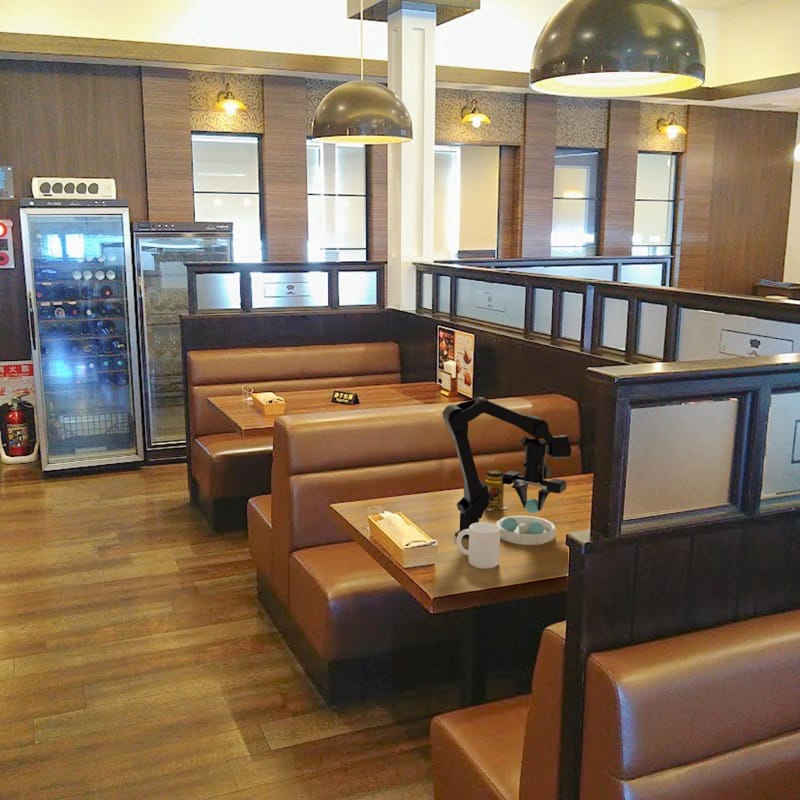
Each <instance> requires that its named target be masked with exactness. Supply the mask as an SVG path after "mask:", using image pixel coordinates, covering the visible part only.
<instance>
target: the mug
mask: <svg viewBox="0 0 800 800" xmlns="http://www.w3.org/2000/svg"><path fill="white" fill-rule="evenodd" d="M464 535H469V538H468V549H466V548H465V547H464V546H463V544H462V538H463V536H464ZM456 537H457V538H456V546H457V549H458V550H459V552H461V554H463V555H465V556H468V563H469V564H470V566H472V567H473V568H477V569H482V570H483V569H484V570H487V569H488V570H490V569H494V568H496V567H498V565H499V563H500V552H501V551H500V550H501V549H500V547H501V539H500V527H499V526H498V525H496V523H492V522H485V521H484V522H483V521H482V522H481V521H479V522H478V523H473V524H471V525H470V526H469V529H465V530H462V531H461V532H460V533H459V534H458V535H456Z"/></svg>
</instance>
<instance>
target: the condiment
mask: <svg viewBox="0 0 800 800" xmlns="http://www.w3.org/2000/svg"><path fill="white" fill-rule="evenodd" d="M503 474H504V473H503V471H502V470H499V469H490V470H487V471H486V476H485V480H484V483H485V484H486V485H487V487H488V494H489V496H490V498H491V499H489V506H488V507H487V508H488V509H500V510H501V511H502V510H506V509H509V507H507V506H506V505H505V504H504V492H505V491H504V489H505V488H504V487H505V486H504V485H505V484H504V483H501V482H502V475H503ZM501 508H503V509H501ZM500 510H499V511H500ZM487 511H489V512H490V510H487Z"/></svg>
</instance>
